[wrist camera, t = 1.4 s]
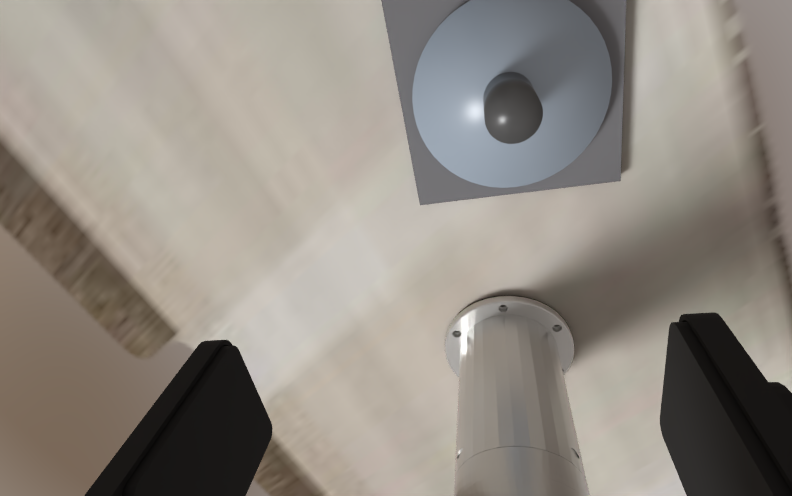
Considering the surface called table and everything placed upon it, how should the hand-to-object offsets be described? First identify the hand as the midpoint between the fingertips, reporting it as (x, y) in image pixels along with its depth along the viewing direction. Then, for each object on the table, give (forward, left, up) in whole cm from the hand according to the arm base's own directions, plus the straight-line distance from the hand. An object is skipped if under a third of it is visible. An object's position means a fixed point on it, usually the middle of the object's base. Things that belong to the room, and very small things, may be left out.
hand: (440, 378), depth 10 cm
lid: (-1, -3, -29) cm, 29 cm away
